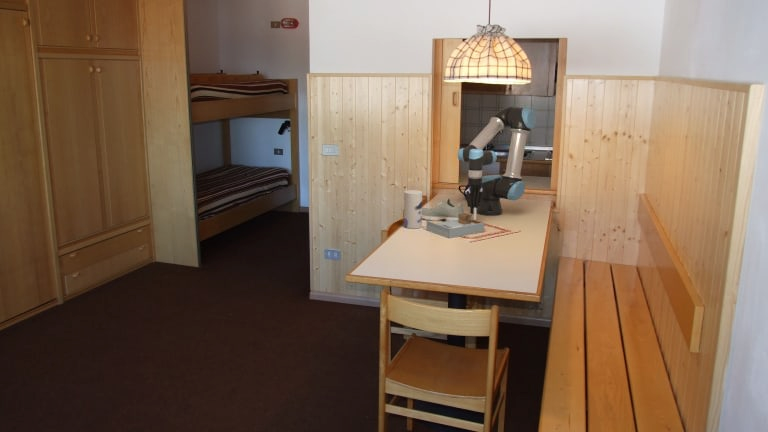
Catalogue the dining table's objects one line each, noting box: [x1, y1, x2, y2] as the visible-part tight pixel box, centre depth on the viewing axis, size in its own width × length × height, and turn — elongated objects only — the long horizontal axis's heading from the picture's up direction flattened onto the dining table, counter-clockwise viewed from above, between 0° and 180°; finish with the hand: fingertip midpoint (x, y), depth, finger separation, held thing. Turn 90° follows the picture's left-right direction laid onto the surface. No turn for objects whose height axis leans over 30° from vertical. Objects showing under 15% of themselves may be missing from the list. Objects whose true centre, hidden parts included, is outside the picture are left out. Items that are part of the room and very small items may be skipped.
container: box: [403, 189, 423, 229], centre depth 367 cm, size 10×10×20 cm
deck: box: [426, 220, 485, 239], centre depth 360 cm, size 24×20×5 cm
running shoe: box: [422, 197, 465, 222], centre depth 383 cm, size 11×30×14 cm, turn 63°
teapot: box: [458, 183, 469, 199], centre depth 439 cm, size 25×16×12 cm, turn 67°
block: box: [458, 212, 472, 225], centre depth 365 cm, size 5×5×5 cm
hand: (473, 219), depth 368 cm, fingers closed
